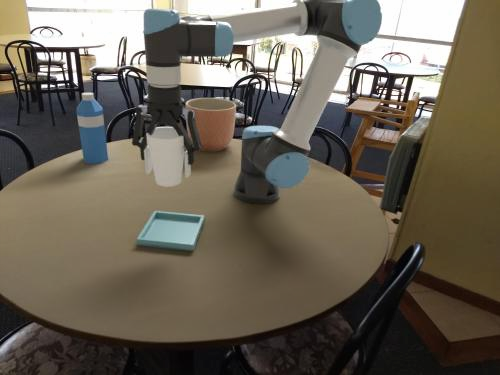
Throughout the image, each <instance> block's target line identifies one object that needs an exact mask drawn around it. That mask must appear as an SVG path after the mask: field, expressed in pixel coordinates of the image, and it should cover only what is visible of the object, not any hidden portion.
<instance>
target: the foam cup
mask: <svg viewBox="0 0 500 375" xmlns="http://www.w3.org/2000/svg"><path fill="white" fill-rule="evenodd" d="M145 133H146V132H145ZM146 136H147V144H148V145H147V146H148V147H149V151H150V156H151V161H152V171H153V174H154V180H155V183H156V184H157V186H161V187H167V188H169V187H176V186H177V185H180V184H181V183H182V177H183V168H184V161H185V156H184V153H185V152H186V151H185V150H186V148H185V146H184V137H183V136H179V135H178V133H177V132H176V130H175V129H174V128H173V126H157V127H156V129H155V130H154V132H153V134H152V135H149V133H146Z"/></svg>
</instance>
